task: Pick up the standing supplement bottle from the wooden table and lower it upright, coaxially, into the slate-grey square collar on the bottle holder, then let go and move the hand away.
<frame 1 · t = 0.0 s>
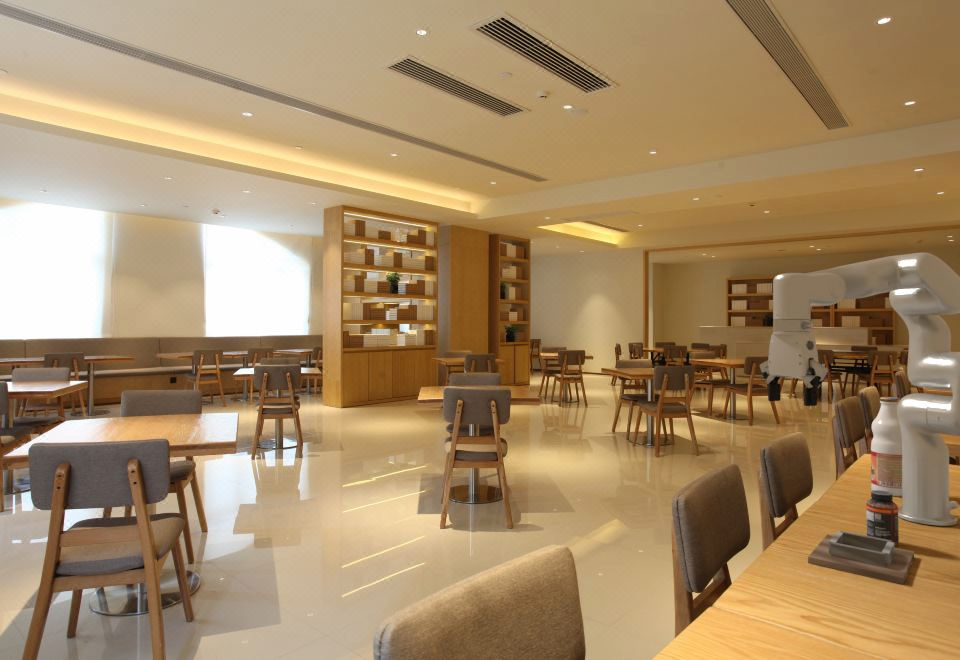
hand: (791, 403, 134), 31 cm above the table, tool pointing down, fingers open, 9 cm apart
bottle holder: (861, 559, 123), on the table
fruit juice: (890, 493, 174), on the table
supplement bottle: (882, 543, 133), on the table
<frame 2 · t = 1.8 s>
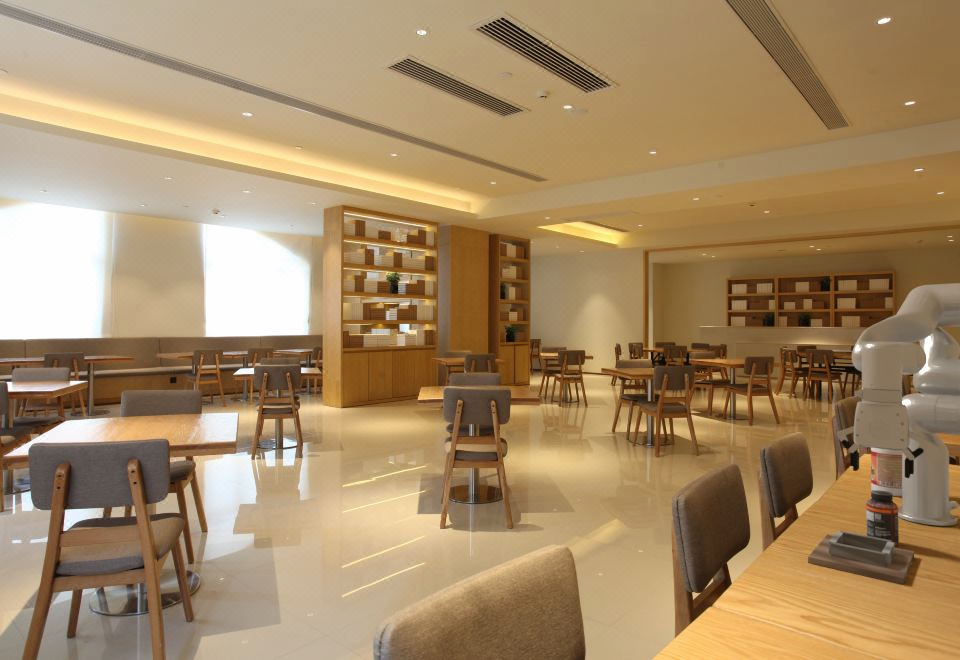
hand: (881, 473, 133), 16 cm above the table, tool pointing down, fingers open, 9 cm apart
nothing on the table moved.
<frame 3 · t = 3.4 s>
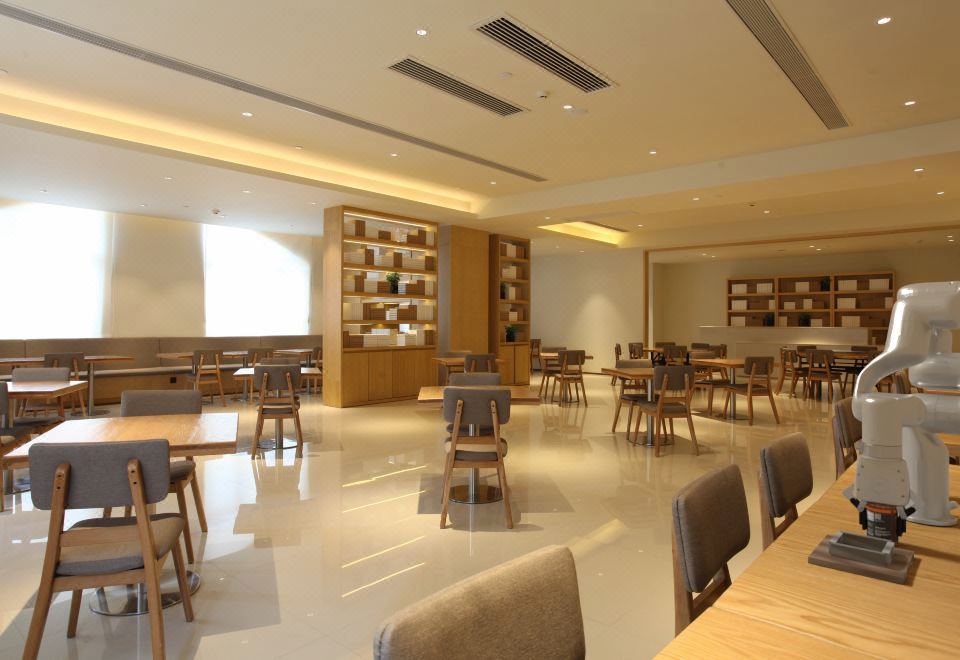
hand: (882, 531, 133), 3 cm above the table, tool pointing down, fingers closed on supplement bottle, 5 cm apart
supplement bottle: (882, 543, 133), on the table, touching gripper
everything else where it was.
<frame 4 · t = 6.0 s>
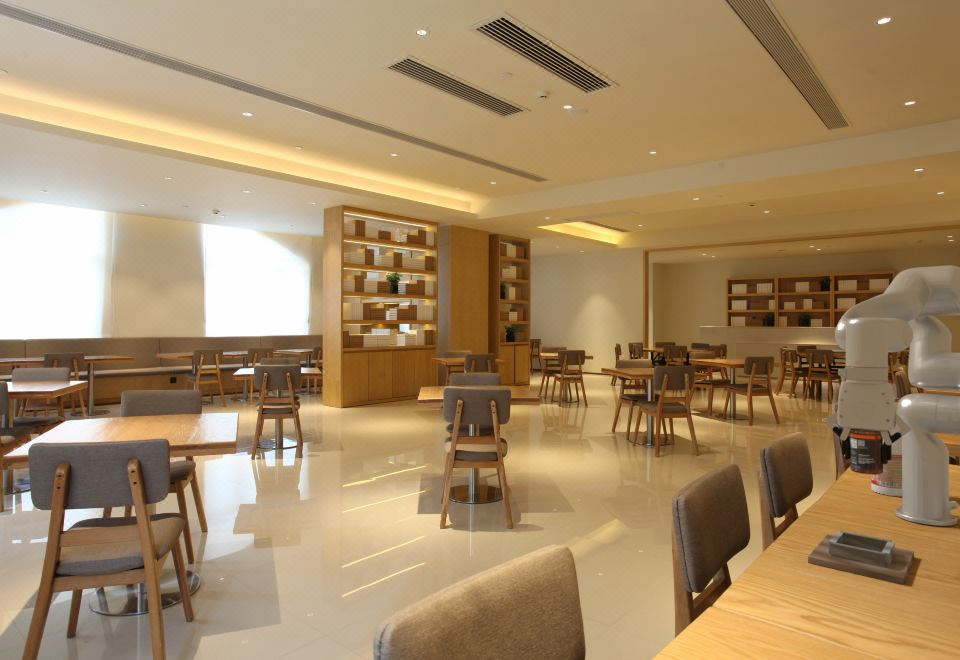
hand: (866, 460, 125), 20 cm above the table, tool pointing down, fingers closed on supplement bottle, 5 cm apart
supplement bottle: (866, 473, 125), point 17 cm above the table, touching gripper
everything else where it was.
when the fingers open (5 cm above the table, at t = 8.7 s): supplement bottle stays where it is, resting on bottle holder.
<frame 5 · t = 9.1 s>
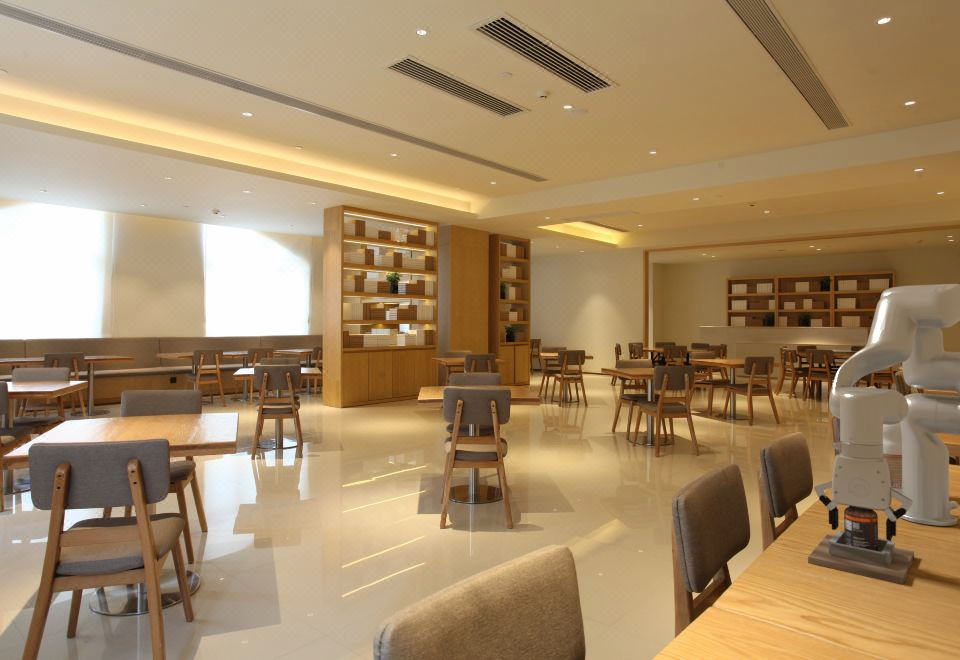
hand: (861, 533, 123), 5 cm above the table, tool pointing down, fingers open, 9 cm apart
supplement bottle: (861, 554, 123), point 1 cm above the table, touching bottle holder
everything else where it was.
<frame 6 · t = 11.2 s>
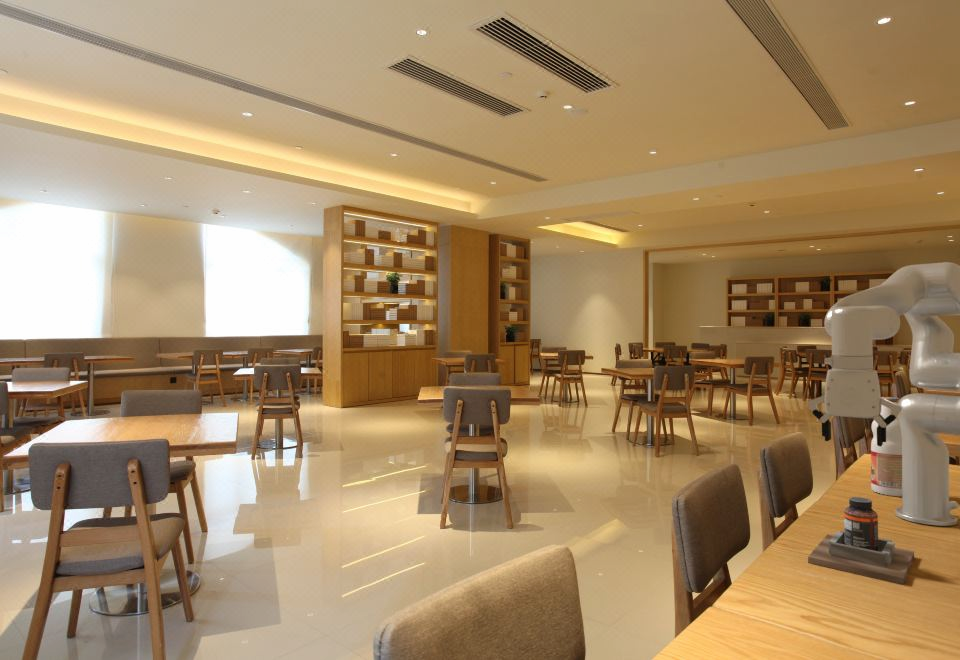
hand: (853, 442, 128), 23 cm above the table, tool pointing down, fingers open, 9 cm apart
nothing on the table moved.
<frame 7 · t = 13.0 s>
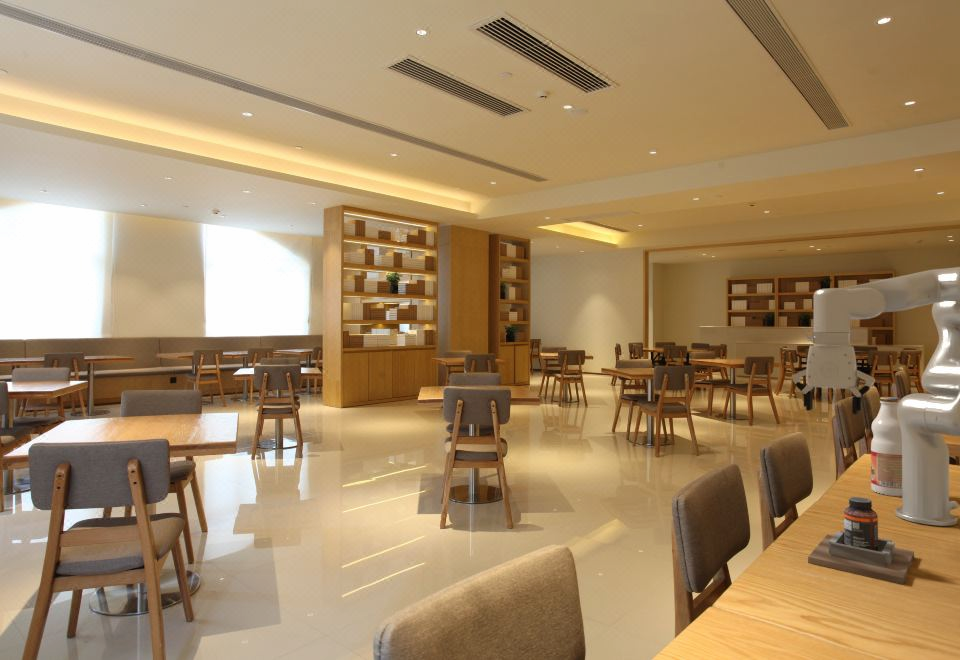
hand: (831, 411, 141), 28 cm above the table, tool pointing down, fingers open, 9 cm apart
nothing on the table moved.
at the end: supplement bottle 0.2 cm off-centre on the bottle holder, point 1.0 cm above the bottle holder's base; supplement bottle tilted 0°; the gripper is holding nothing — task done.
